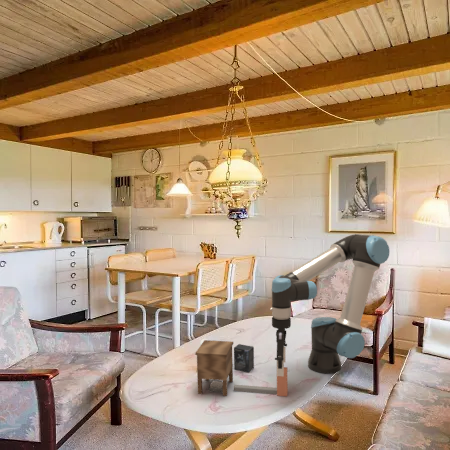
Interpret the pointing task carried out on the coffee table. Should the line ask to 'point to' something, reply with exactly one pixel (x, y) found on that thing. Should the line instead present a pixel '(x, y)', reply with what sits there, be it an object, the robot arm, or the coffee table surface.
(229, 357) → the cabinet
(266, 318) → the coffee table surface
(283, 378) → the orange-headed mallet
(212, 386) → the token
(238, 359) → the box
